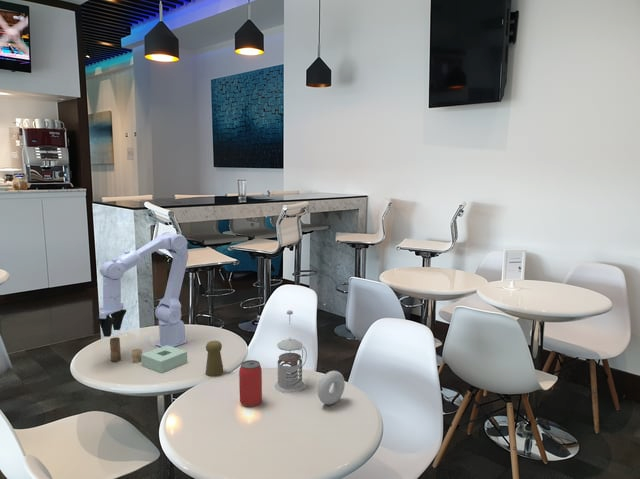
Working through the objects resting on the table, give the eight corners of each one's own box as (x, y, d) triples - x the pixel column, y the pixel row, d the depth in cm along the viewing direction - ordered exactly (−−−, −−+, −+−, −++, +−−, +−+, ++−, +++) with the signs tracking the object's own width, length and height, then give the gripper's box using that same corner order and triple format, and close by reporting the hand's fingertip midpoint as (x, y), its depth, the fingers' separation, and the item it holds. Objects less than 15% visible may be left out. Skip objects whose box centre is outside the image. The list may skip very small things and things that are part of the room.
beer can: (265, 398, 141) (265, 361, 139) (255, 409, 134) (255, 369, 133) (246, 395, 143) (245, 358, 141) (235, 405, 137) (234, 366, 135)
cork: (221, 376, 155) (220, 345, 154) (203, 376, 156) (202, 345, 154) (225, 369, 161) (224, 338, 160) (208, 369, 162) (207, 338, 160)
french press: (268, 386, 149) (267, 310, 145) (294, 374, 158) (294, 302, 154) (289, 396, 142) (289, 317, 139) (315, 383, 151) (315, 308, 147)
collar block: (167, 355, 173) (167, 345, 173) (187, 362, 167) (186, 351, 166) (141, 365, 164) (141, 354, 164) (161, 373, 158) (160, 361, 157)
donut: (323, 411, 133) (323, 378, 132) (315, 407, 136) (315, 374, 134) (347, 399, 140) (347, 368, 139) (338, 396, 143) (339, 364, 141)
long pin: (117, 357, 171) (116, 336, 170) (122, 359, 169) (121, 338, 168) (109, 360, 168) (108, 339, 167) (114, 362, 166) (113, 341, 165)
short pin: (138, 358, 170) (138, 348, 169) (144, 360, 168) (143, 350, 168) (130, 361, 167) (130, 350, 167) (136, 363, 166) (135, 352, 165)
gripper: (110, 290, 172) (110, 326, 173) (90, 299, 158) (90, 338, 159) (129, 291, 172) (129, 327, 173) (111, 300, 158) (111, 339, 159)
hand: (112, 333), depth 166 cm, fingers open, 7 cm apart
